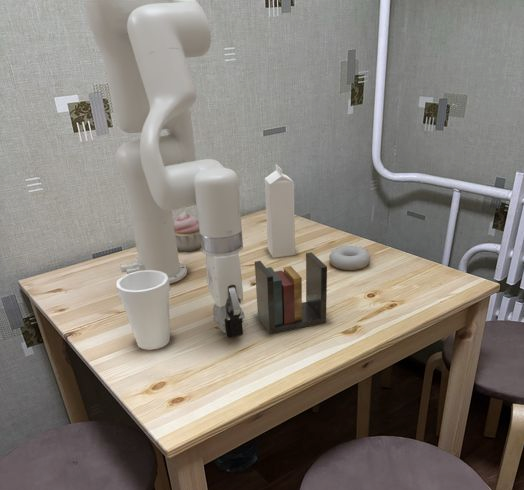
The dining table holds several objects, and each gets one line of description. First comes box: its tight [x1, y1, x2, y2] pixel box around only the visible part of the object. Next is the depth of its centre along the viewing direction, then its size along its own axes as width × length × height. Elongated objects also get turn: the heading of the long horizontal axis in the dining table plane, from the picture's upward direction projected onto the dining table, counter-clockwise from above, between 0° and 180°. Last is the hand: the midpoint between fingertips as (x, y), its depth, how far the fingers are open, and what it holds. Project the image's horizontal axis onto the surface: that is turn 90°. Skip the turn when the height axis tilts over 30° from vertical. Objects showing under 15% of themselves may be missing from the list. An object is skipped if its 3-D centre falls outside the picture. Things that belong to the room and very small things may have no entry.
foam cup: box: [115, 270, 171, 351], centre depth 99 cm, size 10×9×13 cm
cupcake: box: [173, 211, 201, 252], centre depth 142 cm, size 9×9×10 cm
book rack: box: [254, 251, 328, 335], centre depth 104 cm, size 12×8×12 cm, turn 107°
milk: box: [264, 163, 296, 259], centre depth 133 cm, size 6×6×22 cm
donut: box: [328, 245, 371, 271], centre depth 129 cm, size 10×3×10 cm
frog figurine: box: [212, 300, 245, 334], centre depth 103 cm, size 6×7×7 cm
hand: (229, 325), depth 104 cm, fingers closed on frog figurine, 6 cm apart
